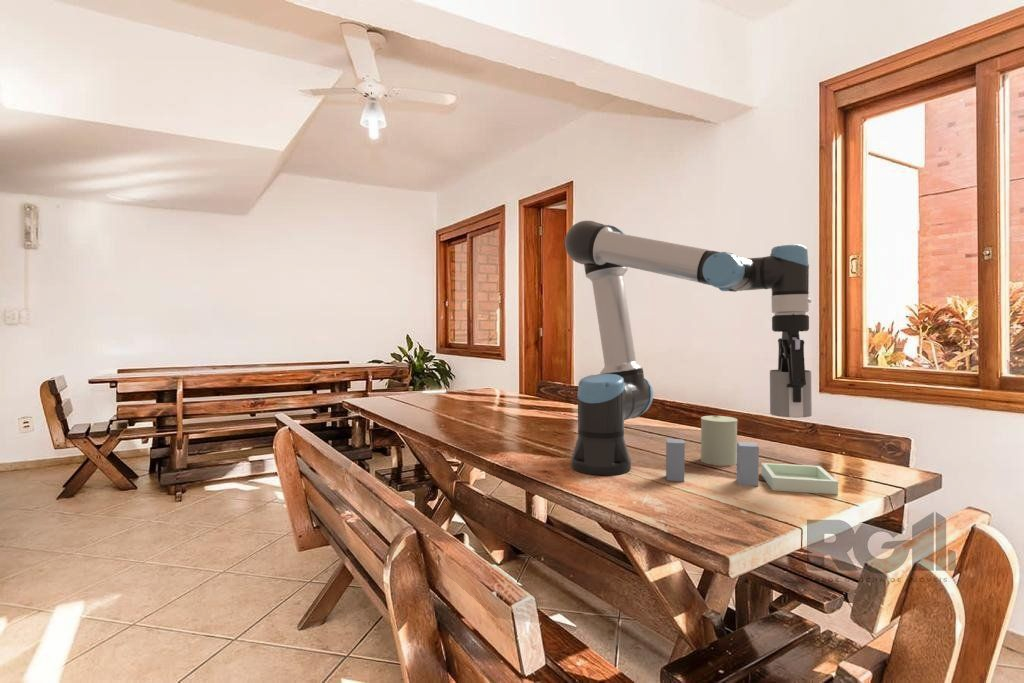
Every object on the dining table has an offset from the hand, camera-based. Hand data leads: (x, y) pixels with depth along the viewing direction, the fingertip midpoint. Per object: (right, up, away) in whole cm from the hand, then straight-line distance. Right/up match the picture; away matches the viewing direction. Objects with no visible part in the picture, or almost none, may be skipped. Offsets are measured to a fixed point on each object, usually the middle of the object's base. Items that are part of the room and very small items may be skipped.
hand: (791, 413), depth 126 cm
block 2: (-9, -16, +2) cm, 19 cm away
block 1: (-25, -16, +5) cm, 30 cm away
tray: (+2, -16, +1) cm, 16 cm away
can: (-9, -16, +21) cm, 28 cm away
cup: (0, 0, 0) cm, 0 cm away
